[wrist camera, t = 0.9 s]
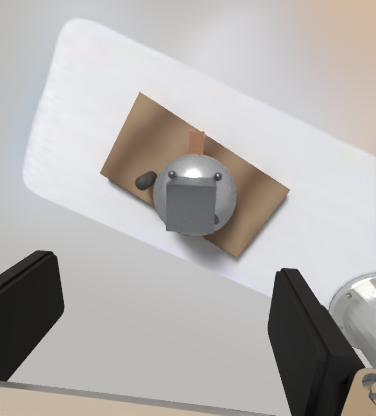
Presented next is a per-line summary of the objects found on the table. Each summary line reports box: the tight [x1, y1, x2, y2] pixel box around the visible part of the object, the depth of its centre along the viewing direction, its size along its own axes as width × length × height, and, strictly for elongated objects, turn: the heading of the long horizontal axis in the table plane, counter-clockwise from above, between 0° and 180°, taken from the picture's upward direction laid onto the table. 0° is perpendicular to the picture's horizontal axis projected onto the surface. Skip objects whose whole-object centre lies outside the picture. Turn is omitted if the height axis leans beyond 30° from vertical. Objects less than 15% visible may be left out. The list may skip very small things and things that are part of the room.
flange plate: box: [153, 131, 237, 236], centre depth 24 cm, size 11×9×6 cm
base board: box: [100, 92, 290, 258], centre depth 28 cm, size 21×11×6 cm, turn 58°
